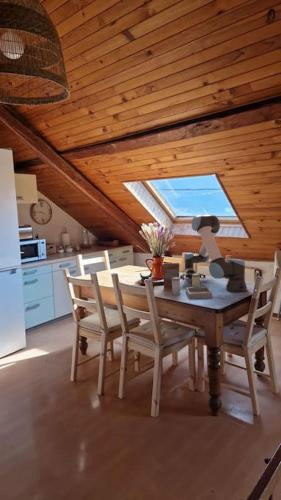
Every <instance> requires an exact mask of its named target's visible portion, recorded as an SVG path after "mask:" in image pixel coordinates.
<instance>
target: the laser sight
mask: <svg viewBox="0 0 281 500" xmlns="http://www.w3.org/2000/svg"><path fill="white" fill-rule="evenodd" d="M139 275H140V281H141V284H143V285H144V280H145V279H150V278H153V277H152V276H153V272H151V271H150V274H148V275H142V273H141V272H140V273H139ZM152 283H153V289H154V288H155V283H154V282H153V281H152Z"/></svg>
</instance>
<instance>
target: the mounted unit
mask: <svg viewBox="0 0 281 500" xmlns="http://www.w3.org/2000/svg"><path fill="white" fill-rule="evenodd" d="M162 266H163V267H162V269H163V272H162V273H163V291H164V292H168V291H169V292H170V291H171V292H172V278H174V277H178V278H180V263H179V262H169V263H168V262H166V263H165V262H164V263H163V265H162Z"/></svg>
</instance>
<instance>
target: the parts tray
mask: <svg viewBox="0 0 281 500" xmlns="http://www.w3.org/2000/svg"><path fill="white" fill-rule="evenodd" d="M185 289H186V290H185V293H186V295H187V296H188V299H209V298H210V299H212V298H213V292H212V291H211V289H210V288H209V287H208V286H201V287H192V286H191V287H186V288H185Z"/></svg>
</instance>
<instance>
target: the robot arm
mask: <svg viewBox="0 0 281 500" xmlns="http://www.w3.org/2000/svg"><path fill="white" fill-rule="evenodd" d="M220 223H221V221H220V220H219V218H218V217H217V216H216V215H213V214H204V215H203V214H200V215H199V214H198V215H195V216H193V218H192V220H191V228H192V230H193V231H195V232H197V235H199V236H200V237H201V240H202V244H201V246H200V250H199V252H198V253H197V254H196V253H195V254H194V253H193V252H185V253H184V269H183V272H184V273H182V274H181V275H179V278H180V280H182V281H184V282H187V279H190V280H192V274H200V280H201V281H204V279H206V278H207V277H206V275H207V274H204V273H200V272H198V273H196V272H195V270H194V265H195V264H202V263H207V262H208V263H209V266H208V272H209V274H210V275H211V277H212V278H213V279H219V280H220V279H221V280H222V279H225V278H228V280H227V283H226V285H225V286H226V287H225V288H226V289H225V290H226V291H228V292H233V293H244V292H247V291H248V285H247V282H246V279H245V278H246V276H245V275H246V274H245V273H246V272H245V270H246V262H245V260H244V259H238V258H228V260H227V261H226V258H225V257H224V256H222V254H221V251H220V249H219V247H218V244H217V241H216V240H215V238H216V235H217V234H218V233H219V230H220V229H221V224H220ZM209 260H210V262H209Z"/></svg>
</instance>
